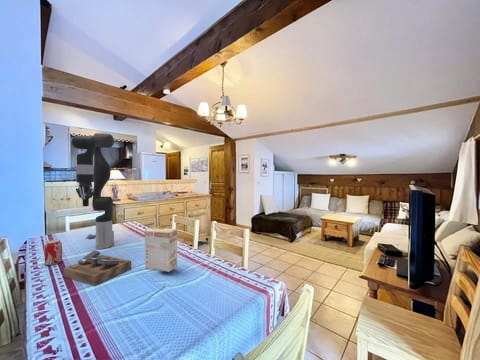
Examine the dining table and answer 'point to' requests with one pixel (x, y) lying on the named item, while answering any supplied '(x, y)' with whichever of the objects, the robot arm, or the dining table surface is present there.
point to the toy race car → (91, 236)
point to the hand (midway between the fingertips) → (85, 206)
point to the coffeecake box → (161, 249)
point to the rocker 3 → (107, 261)
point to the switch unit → (96, 271)
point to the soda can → (53, 252)
